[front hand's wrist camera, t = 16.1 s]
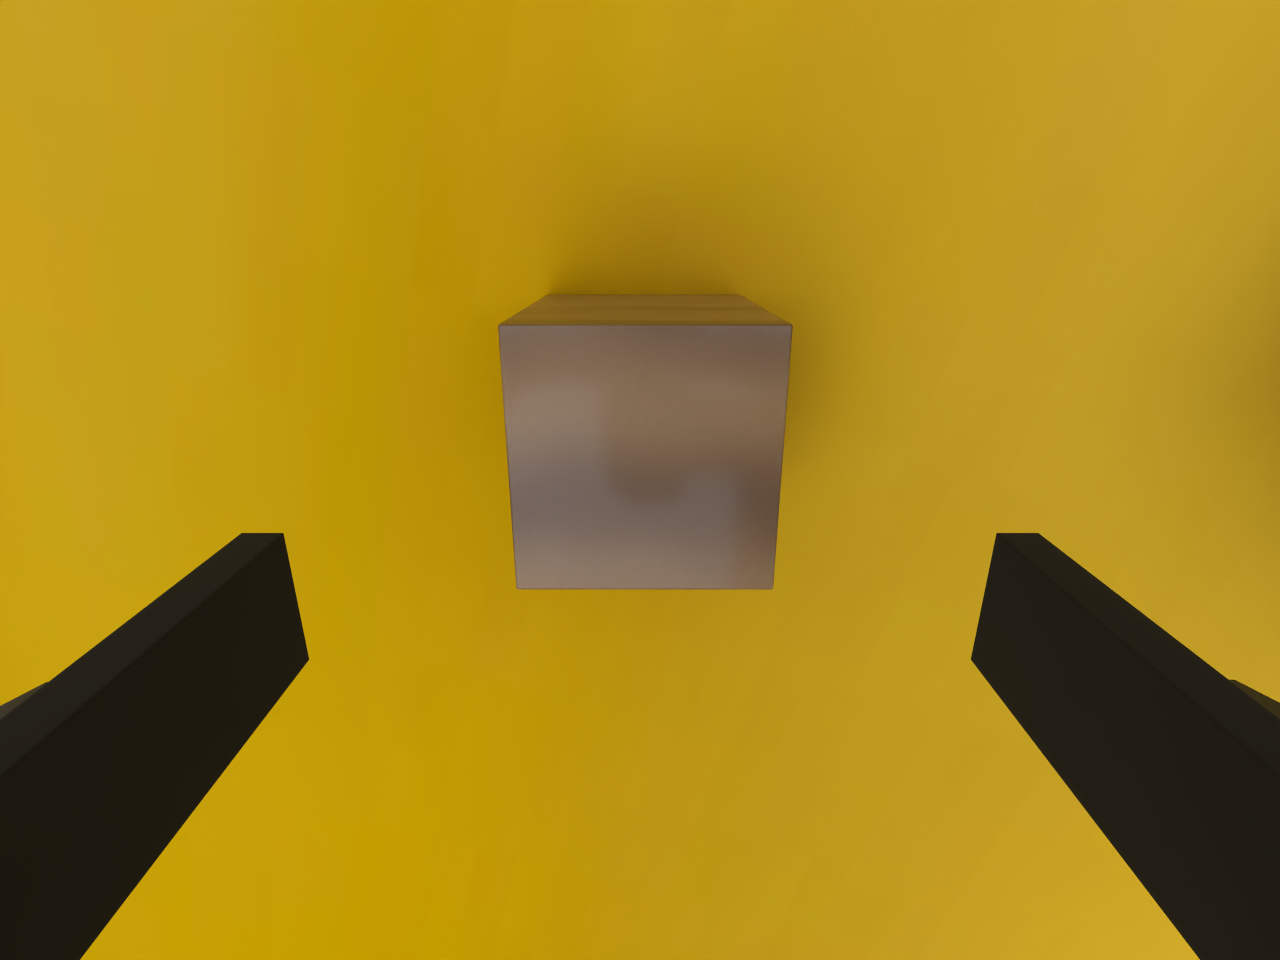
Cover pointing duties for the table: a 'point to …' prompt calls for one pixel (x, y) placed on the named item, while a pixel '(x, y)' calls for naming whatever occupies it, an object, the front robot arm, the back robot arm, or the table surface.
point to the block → (644, 440)
